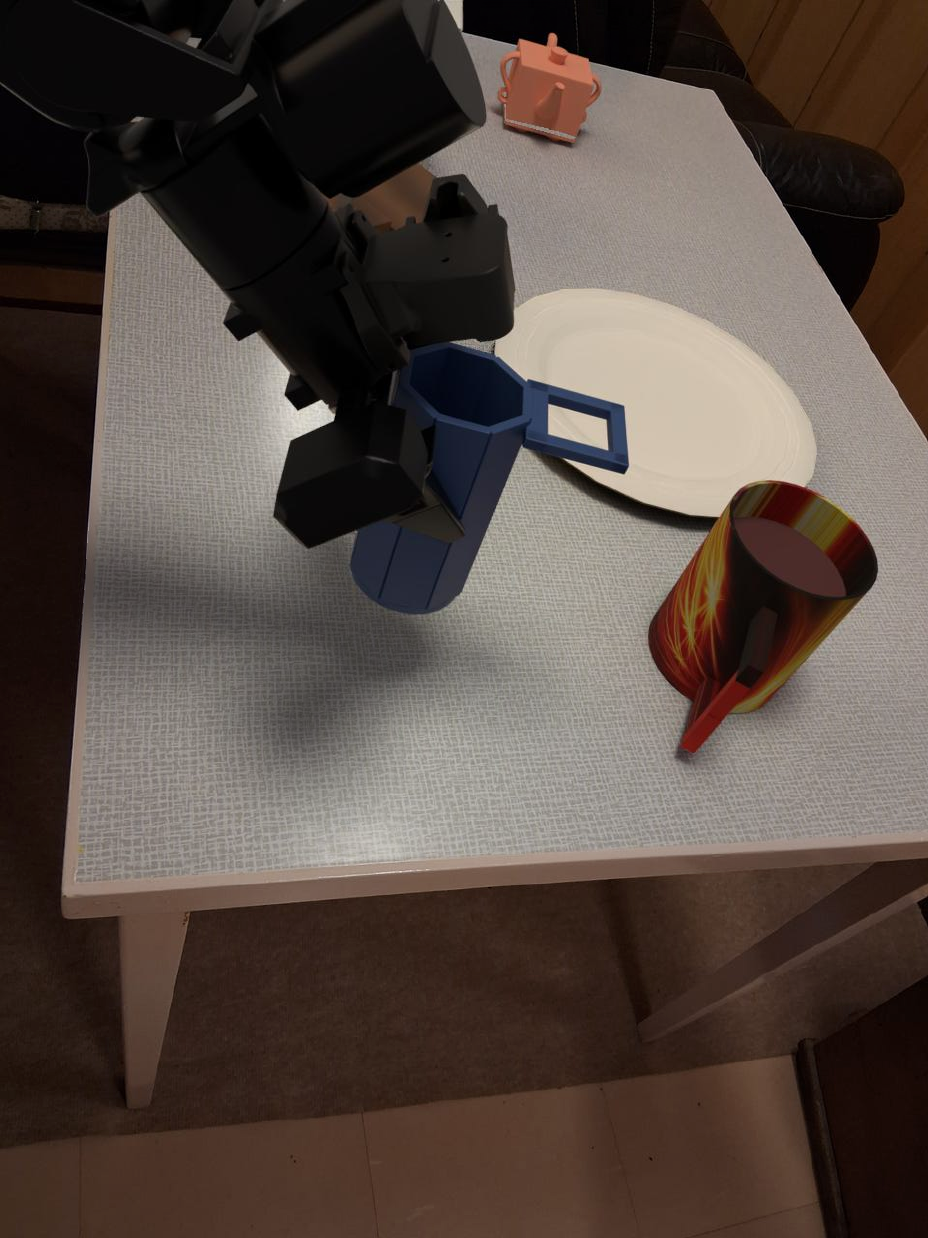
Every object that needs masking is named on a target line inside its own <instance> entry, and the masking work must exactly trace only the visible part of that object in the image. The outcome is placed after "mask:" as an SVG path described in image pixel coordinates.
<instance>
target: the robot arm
mask: <svg viewBox="0 0 928 1238" xmlns="http://www.w3.org/2000/svg"><path fill="white" fill-rule="evenodd" d="M190 39H200V41H199V42H198V44H197V45H196V46H195V47H194V46H192V45H191V44H188V41H189V40H190ZM0 85H1V86H2V87H3V88H4V89H6V90H7V91H9V92H10V93H11V94H13V95H14V96H15V97H17V98H19V99H20V100H21V101H22V102H24V103H25V104H26V105H28V106H29V107H31V108H32V109H33V110H34V111H36V112H38V113H39V114H41V115H42V116H44V117H46V118H47V119H49V120H50V121H52V122H54V123H56V124H59V125H62V126H64V127H67V128H69V129H71V130H74V131H79V132H85V133H88V135H87V136H86V137H85V139H84V142H83V146H84V148H85V152H86V155H87V161H88V179H87V192H86V193H87V194H86V201H85V205H86V208H87V211H88V212H89V213H90V214H91V215H93V216H96V217H103V216H105V215H107V214H108V213H109V212H111V211H112V210H115V208H117V207H119V206H121V205H122V204H123V203H124V202H126V201H128V200H129V199H131V198H132V197H134V196H135V195H138V194H141V196H142V197H143V198H144V199H145V200H146V202H147V203H148V204H149V205H150V206H151V207H152V209H153V210H154V211H155V212H156V214H157V215H158V216H159V217H160V219H161V220H162V221H163V222H164V223H165V225H166V226H167V227H168V228H169V229H170V231H171V232H172V233H173V234H174V235H175V236H176V238H177V239H178V240H179V242H180V243H181V244H182V245H183V246H184V247H185V248H186V250H187V251H188V252H189V253H190V254H191V255H192V257H193V258H194V260H195V261H197V263H198V264H199V265H200V266H201V268H202V269H203V270H204V271H205V273H207V275H208V276H209V278H211V280H212V281H213V282H214V283H215V284H216V286H217V287H218V288H219V289H220V291H221V292H222V293H223V295H225V297H226V298H227V299H228V300H229V301H230V303H229V305H228V308H227V311H226V313H225V316H224V319H223V321H222V324H223V325H224V327H225V328H226V329H227V330H228V331H229V332H230V334H231V335H232V336H233V337H234V338H235V339H236V341H237V342H241V341H242V340H244V339H247V338H249V337H250V336H252V335H254V334H257V335H258V336H259V338H260V339H261V340H262V341H263V342H264V343H265V345H266V346H267V347H268V348H269V350H270V351H271V352H272V354H274V356H275V357H276V358H277V359H278V360H279V361H280V363H281V364H282V365H283V366H284V368H285V369H286V370H287V371H288V372H289V375H288V380H287V384H286V385H285V390H284V394H283V396H284V397H285V398H286V399H287V400H288V401H289V403H290V404H291V405H292V406H293V407H294V408H295V410H296V411H297V412H299V411H301V410H303V409H305V408H308V407H309V406H311V405H314V404H316V403H318V402H320V401H322V403H324V405H325V406H326V405H327V408H328V410H329V412H331V414H333V415H334V417H333V420H332V421H330V422H328V423H326V424H324V425H322V426H319V427H317V428H315V429H312V430H310V431H308V432H306V433H304V434H301V435H299V436H297V437H295V438H293V439H291V440H290V441H289V445H288V448H287V452H286V457H285V459H284V464H283V468H282V472H281V476H280V480H279V483H278V487H277V491H276V494H275V495H276V496H275V501H274V502H275V503H274V508H273V515H272V517H273V518H274V520H276V521H277V522H278V524H280V525H281V526H282V527H283V528H284V530H286V531H287V532H288V533H289V535H290V536H291V537H292V538H294V540H295V541H296V542H297V543H299V545H301V546H302V547H304V548H306V549H307V550H311V549H313V548H316V547H318V546H321V545H323V544H326V543H328V542H331V541H334V540H336V539H338V538H341V537H344V536H347V535H348V534H352V533H354V532H356V531H357V530H359V529H362V528H364V527H367V526H369V525H372V524H374V523H377V522H379V521H385V522H388V523H392V524H394V525H397V526H400V527H403V528H406V529H409V530H411V531H414V532H417V533H420V534H423V535H425V536H428V537H431V538H434V539H437V540H440V541H442V542H445V543H452V542H454V541H457V540H460V539H462V538H464V537H465V528H464V526H463V524H462V522H461V520H460V518H459V516H458V514H457V512H456V510H455V508H454V506H453V505H452V503H451V501H450V499H449V498H448V496H447V494H446V492H445V491H444V489H443V487H442V485H441V484H440V482H439V480H438V478H437V477H436V475H435V473H434V471H433V470H432V465H433V457H434V448H435V438H436V429H437V428H436V425H433V426H430V427H428V428H426V429H423V430H421V429H420V427H419V426H418V424H417V423H416V422H415V420H414V419H413V418H412V416H411V415H410V414H409V412H408V411H407V410H406V409H403V408H399V407H395V406H393V399H394V393H395V387H396V381H397V378H398V374H399V370H400V369H401V368H403V367H405V366H407V365H409V360H410V353H411V352H410V351H409V350H413V349H417V348H420V347H424V346H428V345H432V344H436V343H444V342H446V343H447V342H451V343H454V342H460V341H461V342H462V341H469V340H476V341H478V342H480V343H488V342H492V341H496V340H497V339H500V338H502V337H504V336H506V335H507V334H508V333H510V332H511V330H512V329H513V327H514V309H515V293H516V283H515V277H514V270H513V269H514V268H513V263H512V256H511V249H510V241H509V237H508V236H509V235H508V230H509V227H508V226H509V225H508V222H507V220H506V219H505V218H504V217H503V216H502V215H500V213H499V207H498V204H497V203H495V204H488V203H486V201H485V200H484V198H483V197H482V195H481V194H480V193H479V191H478V190H477V188H476V187H475V186H474V185H473V183H472V182H471V181H470V179H469V178H468V177H467V175H466V174H465V173H457V174H451V175H445V176H444V175H443V176H436V177H437V178H435V179H433V181H432V184H431V188H430V191H429V195H428V198H427V202H426V205H425V209H424V214H423V218H422V221H421V223H416V218H415V216H411V217H406V222H405V225H404V226H403V227H401V228H399V229H397V230H393V231H389V232H384V233H378V231H377V230H376V229H375V228H374V227H373V226H372V224H371V223H370V221H369V220H368V218H367V217H366V215H365V214H364V212H363V211H362V210H360V209H359V210H357V211H355V210H354V209H353V207H352V206H351V204H350V203H349V204H347V205H345V206H343V207H342V208H340V209H338V210H336V211H334V210H333V208H332V207H331V205H330V204H329V203H328V201H327V200H326V198H325V197H324V195H325V196H326V197H327V198H329V199H331V198H333V197H335V196H336V195H338V194H340V193H341V194H343V195H345V196H348V197H350V198H356V197H360V196H361V195H363V194H365V193H367V192H368V191H370V190H372V189H374V188H375V187H377V186H379V185H381V184H382V183H384V182H386V181H388V180H390V179H391V178H393V177H395V176H397V175H398V174H400V173H402V172H404V171H405V170H407V169H409V168H411V167H412V166H414V165H416V164H418V163H419V162H421V161H423V160H425V159H426V158H428V157H430V156H431V157H432V156H433V155H435V154H437V153H439V152H441V151H443V150H444V149H446V148H448V147H449V146H451V145H453V144H454V143H456V142H458V141H460V140H461V139H464V138H465V137H467V136H468V135H470V134H472V133H475V132H476V131H477V130H479V129H481V128H482V127H485V125H486V123H487V118H488V117H487V115H488V114H487V106H486V100H485V97H484V93H483V92H484V91H483V88H482V85H481V82H480V78H479V75H478V72H477V70H476V66H475V64H474V61H473V59H472V56H471V53H470V50H469V48H468V46H467V44H466V41H465V38H464V37H463V35H462V34H461V32H460V30H459V28H458V26H457V24H456V22H455V20H454V18H453V16H452V14H451V12H450V10H449V8H448V6H447V4H446V3H445V1H444V0H439V1H438V0H0ZM136 118H142V119H140V120H139V121H133V120H135V119H136Z"/></svg>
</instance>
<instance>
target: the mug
mask: <svg viewBox="0 0 928 1238" xmlns="http://www.w3.org/2000/svg"><path fill="white" fill-rule="evenodd" d="M878 574H879V563H878V557H877V554H876V551H875V548H874V546H873V544H872V542H871V541H870V538H869V537H868V535H867V534H866V532H865V531H864V530H863V528H862V527H861V525H860V524H859V523H858V522H856V520H855V519H854V518H852V517H851V516H850V514H849V513H847V512H846V511H845V510H844V509H842V508H841V507H840V506H839V505H837V504H836V503H834V502H833V501H832V500H830V499H828V498H827V497H825V496H823V495H821V494H820V493H817V492H815V491H814V490H812V489H810V488H807V487H802V486H799V485H796V484H792V483H788V482H784V481H774V480H765V481H757V482H753V483H750V484H747V485H745V486H744V487H742V488H740V489H739V490H738V491H737V492H736V494H735V495H734V496H733V497H732V499H731V500H730V502H729V503H728V505H727V506H726V508H725V509H724V511H723V512H722V514H721V515H720V517H719V518H717V519H716V521H715V523H714V524H713V526H712V528H711V529H710V531H709V532H708V533H707V535H706V537H705V538H704V540H703V541H702V543H701V544H700V546H699V547H698V549H697V550H696V551H695V553H694V555H693V556H692V558H691V559H690V561H689V562H688V564H687V565H686V567H685V569H684V570H683V572H682V573H681V574H680V576H679V577H678V579H677V581H676V582H675V584H674V585H673V586H672V588H671V590H670V591H669V593H668V594H667V596H666V597H665V598H664V600H663V601H662V603H661V604H660V606H659V608H658V609H657V611H656V612H655V613H654V615H653V617H652V619H651V622H650V624H649V627H648V634H647V638H648V648H649V650H650V654H651V656H652V660H653V661H654V663H655V665H656V667H657V668H658V670H659V672H660V673H661V674H662V676H663V677H664V678H665V680H666V681H667V682H668V683H670V684H671V685H672V686H673V687H674V688H675V689H676V690H677V691H678V692H679V693H681V694H682V695H683V696H685V697H686V698H687V699H689V700H690V701H693V703H692V705H691V710H690V713H689V717H688V720H687V725H686V728H685V732H684V735H683V738H682V740H681V743H680V746H679V747H680V748H681V749H683V750H685V751H687V752H689V753H691V754H692V755H695V754H696V753H697V752H698V751H699V749H700V748H701V747H702V746H703V745H704V744H705V742H706V741H707V740H708V739H709V738H710V737H711V736H712V734H713V733H714V732H715V731H716V730H717V729H718V727H719V726H720V725H721V724H722V723H723V721H724V719H725V718H726V717H728V715H729V714H745V713H750V712H754V711H756V710H758V709H761V708H762V707H764V706H765V705H766V704H767V703H768V702H770V700H772V699H773V697H774V696H775V695H776V694H777V693H778V692H779V691H780V690H781V688H782V687H783V686H785V684H786V683H787V682H788V681H789V680H790V679H791V677H792V676H794V674H795V673H796V672H797V671H798V670H799V669H800V667H802V665H803V664H804V663H805V662H806V661H807V660H808V659H809V658H810V656H812V655H813V654H814V652H815V651H816V650H817V649H818V648H819V647H820V645H821V644H822V643H823V642H825V640H826V639H827V638H828V637H829V636H830V635H831V634H832V633H833V631H834V630H836V628H837V627H838V626H839V625H840V623H841V622H842V621H843V620H844V619H846V617H847V616H848V615H849V613H851V611H853V609H854V608H855V607H856V606H857V605H858V604H859V602H860V601H861V600H862V599H863V598H864V597H865V596H866V595H867V594H868V593H869V591H871V589H872V588H873V586H874V585H875V583H876V582H877V578H878Z"/></svg>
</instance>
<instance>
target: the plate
mask: <svg viewBox="0 0 928 1238" xmlns="http://www.w3.org/2000/svg"><path fill="white" fill-rule="evenodd" d="M493 354H494V355H496V357H500V358H501V359H502V360H503V361H504V362H505V363H506V364H507V365H509V366H510V367H511V368H512V369H513V370H514V371H515V372H516V373H517V374H519V375H520V376H521V377H522V378H523V379H524V380H525V381H526V382H527V380H528V379H531V380H534V381H538V382H541V383H545V384H549V385H552V386H556V387H559V388H563V389H566V390H570V391H574V392H577V393H581V394H584V395H588V396H592V397H595V398H599V399H602V400H606V401H609V402H613V403H617V404H620V405H624V407H625V422H626V434H627V446H628V458H629V467H628V469H627V471H626V473H625V474H620V473H616V472H612V471H609V470H605V469H601V468H597V467H594V466H590V465H586V464H582V463H579V462H575V461H571V460H567V459H564V458H560V457H557V458H558V459H560V460H561V461H563V462H564V463H565V464H567V465H569V466H570V467H572V468H573V469H575V470H576V471H578V472H579V473H581V474H582V475H583V476H584V477H586V478H587V479H589V480H591V481H593V482H594V483H595V484H597V485H599V486H602V487H604V488H606V489H609V490H611V491H613V492H615V493H617V494H619V495H621V496H624V497H626V498H628V499H630V500H632V501H635V502H637V503H639V504H641V505H645V506H648V507H651V508H656V509H659V510H663V511H666V512H669V513H670V512H671V513H674V514H678V515H683V516H685V517H690V518H703V519H704V518H707V519H718V518H719V517H720V515H721V514H722V512H723V511H724V509H725V508H726V506H727V505H728V503H729V502H730V500H731V499H732V497H733V496H734V495H735V494H736V492H737V491H738V490H739V489H740V488H742V487H744V486H745V485H747V484H750V483H753V482H757V481H765V480H774V481H784V482H788V483H792V484H796V485H799V486H802V487H804V488H806V486H807V485H808V483H809V482H810V481H811V479H812V478H814V474H815V466H816V460H817V456H818V455H817V453H818V447H817V443H816V438H815V435H814V434H815V433H814V430H813V425H812V421H811V420H810V418H809V416H808V415H807V413H806V411H805V409H804V407H803V405H802V404H801V402H800V400H799V398H798V396H797V395H796V393H795V392H794V390H793V389H792V388H791V387H790V386H789V385H788V384H787V383H786V382H785V380H784V379H783V378H782V377H781V376H780V375H779V374H778V372H777V371H776V370H775V369H774V368H773V367H772V366H771V365H770V364H769V363H768V362H767V361H766V360H765V359H763V358H762V357H761V356H759V354H757V352H755V351H754V350H752V349H751V348H750V347H749V346H747V345H746V344H745V343H744V342H743V341H741V340H740V339H738V338H736V337H735V336H733V335H732V334H730V333H728V332H727V331H725V330H723V329H722V328H720V327H718V326H717V325H716V324H714V323H712V322H711V321H709V320H707V319H704V318H702V317H700V316H698V315H696V314H693V313H691V312H689V311H687V310H685V309H682V308H680V307H678V306H676V305H673V304H671V303H668V302H665V301H661V300H658V299H654V298H651V297H647V296H644V295H641V294H638V293H634V292H628V291H627V292H626V291H619V290H613V289H605V288H600V287H592V288H591V287H590V288H589V287H588V288H587V287H586V288H562V289H557V290H554V291H551V292H546V293H543V294H539V295H535V296H533V297H531V298H529V299H528V300H526V301H525V302H523V303H521V304H520V305H519V306H517V307H515V308H514V327H513V329H512V330H511V332H510V333H508V334H507V335H506V336H504V337H502V338H500V339H497V340H495V343H494V353H493ZM548 434H550V435H553V436H557V437H561V438H564V439H568V440H572V441H576V442H579V443H583V444H587V445H590V446H594V447H598V448H601V449H605V450H608V438H607V422H606V420H605V419H601V418H598V417H594V416H590V415H587V414H583V413H579V412H576V411H572V410H569V409H565V408H561V407H558V406H554V405H550V404H548Z"/></svg>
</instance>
